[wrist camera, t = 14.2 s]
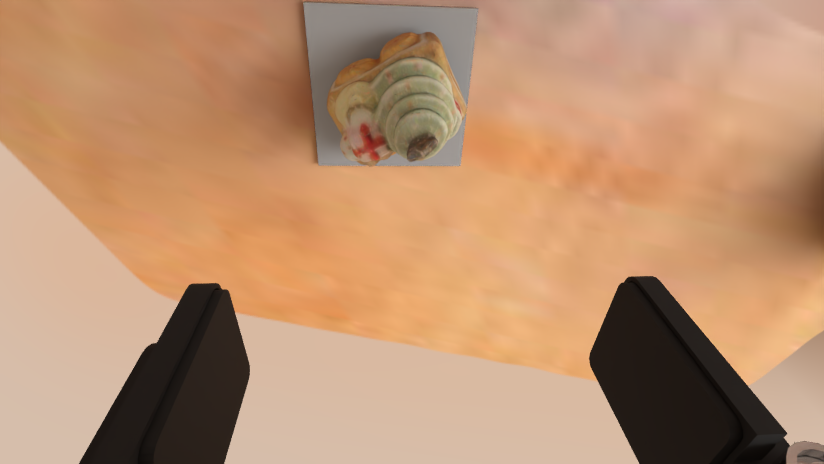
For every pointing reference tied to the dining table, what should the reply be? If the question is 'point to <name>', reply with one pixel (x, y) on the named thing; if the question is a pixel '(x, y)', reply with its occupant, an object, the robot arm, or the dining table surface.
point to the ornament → (397, 102)
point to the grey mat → (364, 38)
